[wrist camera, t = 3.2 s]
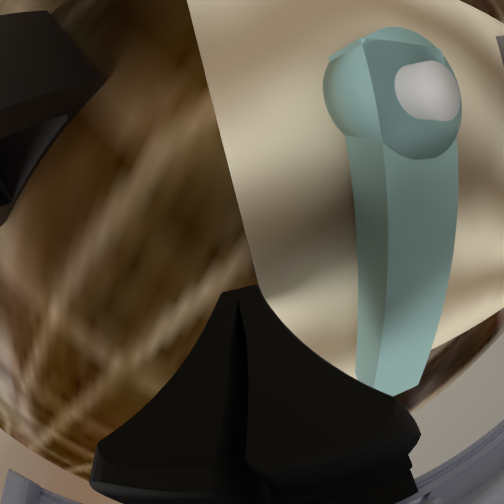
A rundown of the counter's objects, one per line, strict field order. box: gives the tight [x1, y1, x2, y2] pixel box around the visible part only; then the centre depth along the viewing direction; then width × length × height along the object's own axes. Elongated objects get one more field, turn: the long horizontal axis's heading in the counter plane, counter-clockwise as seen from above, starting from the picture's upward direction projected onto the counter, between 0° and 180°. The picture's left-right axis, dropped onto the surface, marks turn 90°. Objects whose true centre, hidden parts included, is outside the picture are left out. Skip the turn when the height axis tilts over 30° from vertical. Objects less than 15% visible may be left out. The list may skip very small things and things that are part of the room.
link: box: [323, 27, 462, 396], centre depth 8 cm, size 16×4×3 cm, turn 13°
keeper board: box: [187, 0, 504, 380], centre depth 8 cm, size 21×22×6 cm
